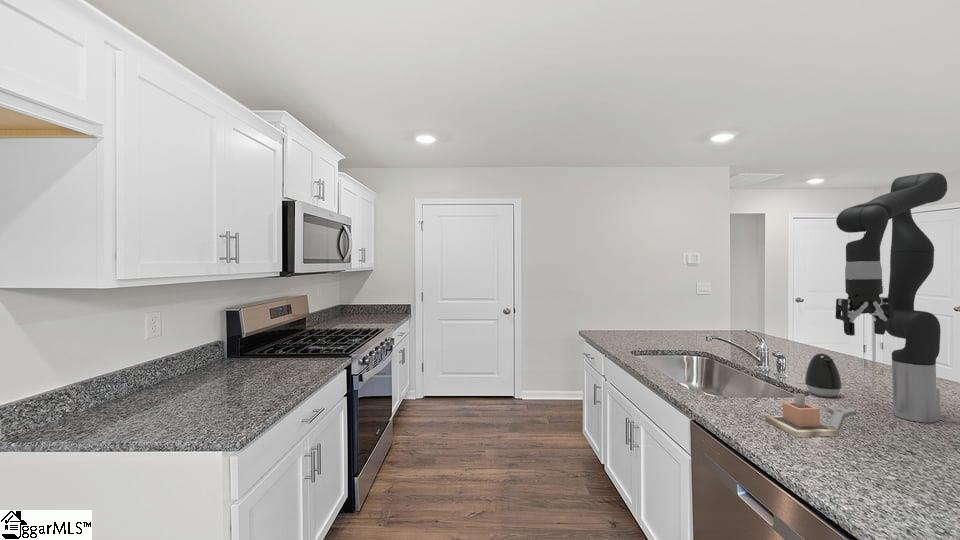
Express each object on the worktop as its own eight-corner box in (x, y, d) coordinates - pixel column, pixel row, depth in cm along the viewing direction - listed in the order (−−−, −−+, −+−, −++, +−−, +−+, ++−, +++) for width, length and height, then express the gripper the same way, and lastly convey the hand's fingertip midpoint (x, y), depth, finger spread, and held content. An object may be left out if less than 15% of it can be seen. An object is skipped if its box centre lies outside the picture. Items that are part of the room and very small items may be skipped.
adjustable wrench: (837, 435, 113) (837, 429, 113) (808, 428, 118) (808, 422, 118) (856, 413, 128) (856, 408, 128) (830, 408, 133) (830, 403, 133)
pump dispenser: (815, 398, 141) (814, 356, 141) (799, 390, 151) (798, 350, 151) (849, 400, 139) (848, 357, 139) (830, 391, 149) (829, 350, 149)
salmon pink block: (802, 418, 120) (802, 401, 120) (819, 426, 114) (819, 408, 114) (783, 419, 120) (782, 402, 120) (799, 426, 114) (799, 409, 114)
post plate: (803, 419, 123) (802, 387, 123) (838, 436, 111) (838, 400, 111) (765, 421, 123) (764, 388, 123) (796, 437, 111) (795, 401, 111)
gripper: (874, 276, 116) (875, 331, 116) (826, 277, 116) (828, 333, 116) (902, 277, 108) (903, 336, 108) (851, 278, 108) (852, 337, 108)
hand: (864, 334), depth 112 cm, fingers open, 8 cm apart
